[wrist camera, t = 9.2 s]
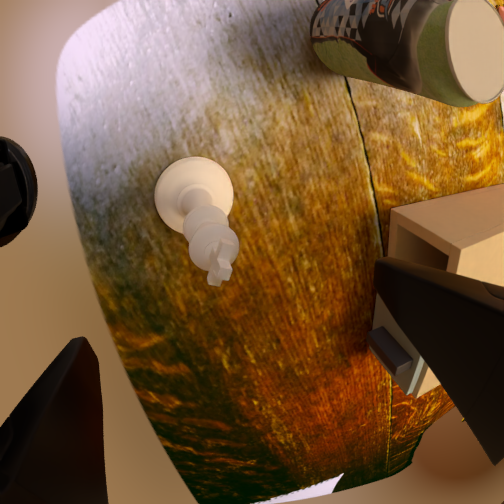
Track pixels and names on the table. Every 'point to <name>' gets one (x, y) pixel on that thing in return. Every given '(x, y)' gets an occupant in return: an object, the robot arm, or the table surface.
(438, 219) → the box
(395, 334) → the closet door
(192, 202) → the chess piece
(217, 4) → the table surface
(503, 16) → the cloth
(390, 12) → the beverage can
